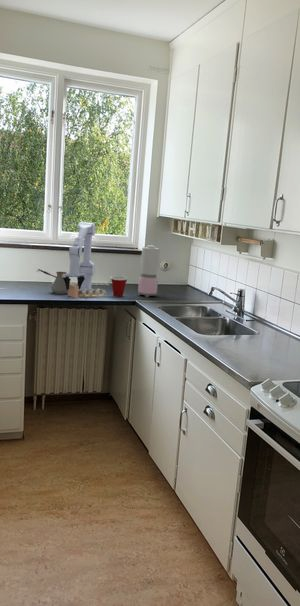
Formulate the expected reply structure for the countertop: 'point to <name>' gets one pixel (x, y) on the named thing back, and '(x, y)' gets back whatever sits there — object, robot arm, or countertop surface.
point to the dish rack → (92, 293)
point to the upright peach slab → (73, 291)
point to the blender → (148, 271)
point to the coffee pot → (58, 283)
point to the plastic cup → (118, 285)
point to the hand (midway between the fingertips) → (73, 289)
